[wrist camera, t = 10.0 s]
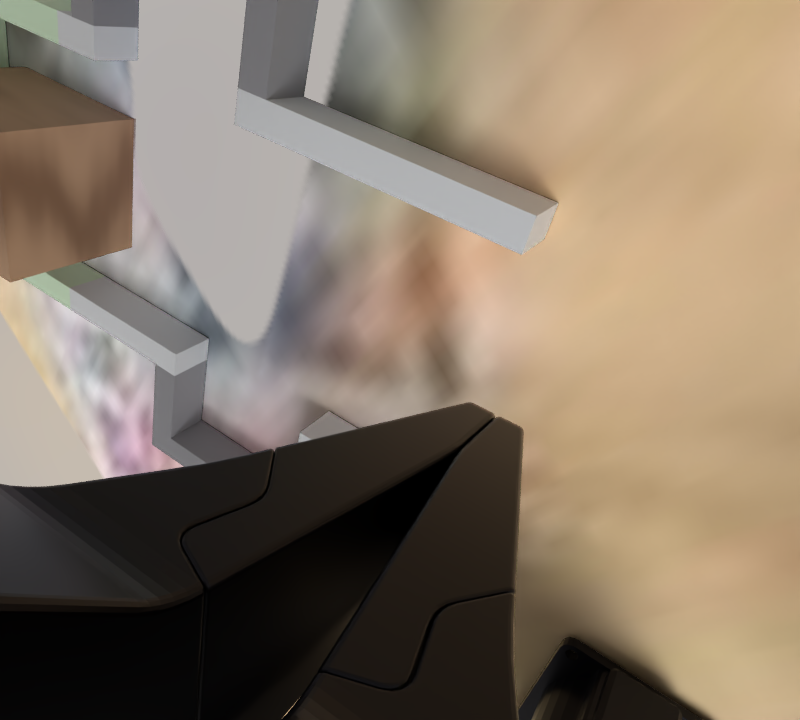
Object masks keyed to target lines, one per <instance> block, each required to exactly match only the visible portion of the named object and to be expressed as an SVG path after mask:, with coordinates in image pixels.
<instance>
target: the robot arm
mask: <svg viewBox="0 0 800 720" xmlns="http://www.w3.org/2000/svg"><path fill="white" fill-rule="evenodd" d="M523 436H524V432H523V429H522V428H521V427H520V426H518V425H516V424H514V423H512V422H510V421H508V420H506V419H504V418H502V417H496V418H495V416H494V414H493V413H492V412H490V411H488V410H486V409H484V408H482V407H480V406H478V405H476V404H474V403H464V404H459V405H455V406H451V407H447V408H442V409H438V410H434V411H430V412H426V413H421V414H417V415H413V416H409V417H405V418H400V419H396V420H392V421H388V422H383V423H379V424H375V425H371V426H367V427H362V428H358V429H354V430H350V431H345V432H341V433H337V434H333V435H329V436H324V437H320V438H316V439H312V440H308V441H303V442H299V443H295V444H291V445H286V446H282V447H278V448H276V449H275V452H274V451H273V450H272V449H269V450H265V451H260V452H256V453H252V454H248V455H243V456H238V457H234V458H229V459H224V460H219V461H215V462H210V463H204V464H198V465H192V466H186V467H180V468H174V469H168V470H161V471H154V472H148V473H141V474H134V475H127V476H120V477H113V478H106V479H99V480H93V481H86V482H79V483H72V484H65V485H56V486H47V487H22V486H9V485H3V484H0V720H702V719H701V718H699V717H697V716H696V715H694V714H693V713H691V712H690V711H688V710H687V709H685V708H683V707H682V706H680V705H679V704H677V703H676V702H674V701H673V700H671V699H670V698H668V697H666V696H665V695H663V694H662V693H660V692H659V691H657V690H656V689H654V688H652V687H651V686H649V685H648V684H646V683H645V682H643V681H642V680H640V679H638V678H637V677H635V676H634V675H632V674H631V673H629V672H628V671H626V670H624V669H623V668H621V667H620V666H618V665H617V664H615V663H614V662H612V661H611V660H609V659H607V658H606V657H604V656H603V655H601V654H600V653H598V652H597V651H595V650H593V649H592V648H590V647H589V646H587V645H586V644H584V643H583V642H581V641H579V640H577V639H575V638H571V637H569V638H565V639H564V640H563V641H562V643H561V644H560V646H559V647H558V649H557V650H556V652H555V653H554V655H553V656H552V658H551V659H550V661H549V662H548V664H547V665H546V667H545V668H544V670H543V671H542V673H541V674H540V676H539V677H538V679H537V681H536V682H535V684H534V685H533V687H532V688H531V690H530V691H529V693H528V694H527V696H526V697H525V699H524V700H523V702H522V703H521V705H520V706H519V708H518V707H517V695H516V680H515V666H514V618H515V596H514V595H515V591H516V572H517V552H518V533H519V513H520V494H521V474H522V455H523ZM571 650H572V651H574V652H572V651H571ZM300 696H301V697H300ZM297 700H298V701H297ZM296 701H297V702H296ZM295 702H296V703H295ZM294 703H295V704H294ZM293 705H294V706H293ZM292 706H293V707H292ZM291 707H292V708H291ZM290 708H291V710H290V711H289V712H288V710H289V709H290ZM287 712H288V713H287ZM286 713H287V714H286ZM285 714H286V715H285ZM284 715H285V716H284ZM283 716H284V717H283Z"/></svg>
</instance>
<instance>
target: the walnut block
mask: <svg viewBox="0 0 800 720" xmlns="http://www.w3.org/2000/svg"><path fill="white" fill-rule="evenodd" d="M135 132H136V119H135V118H131V117H128V116H126V115H124V114H122V113H120V112H118V111H116V110H114V109H112V108H110V107H108V106H106V105H104V104H102V103H99V102H97V101H95V100H93V99H91V98H89V97H87V96H85V95H83V94H81V93H79V92H77V91H75V90H73V89H71V88H68V87H66V86H64V85H62V84H60V83H58V82H56V81H54V80H52V79H50V78H48V77H46V76H44V75H42V74H40V73H37V72H35V71H33V70H31V69H29V68H27V67H0V276H1V277H3V278H4V279H6V280H7V281H9V282H13V281H17V280H20V279H24V278H27V277H31V276H34V275H38V274H41V273H44V272H48V271H51V270H55V269H58V268H62V267H65V266H69V265H72V264H76V263H79V262H83V261H86V260H89V259H93V258H96V257H100V256H103V255H107V254H110V253H114V252H117V251H121V250H124V249H128V248H131V247H132V200H133V138H134V140H135Z"/></svg>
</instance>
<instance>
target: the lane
mask: <svg viewBox="0 0 800 720" xmlns="http://www.w3.org/2000/svg"><path fill="white" fill-rule="evenodd" d="M57 18H58V40H59V45H60V46H63V47H65V48H67V49H69V50H72V51H74V52H76V53H78V54H80V55H83V56H85V57H87V58H89V59H91V60H94V61H119V60H138V28H133V27H106V26H92V25H90V24H88V23H85V22H83V21H81V20H78V19H76V18H74V17H72V16H71V11H59V10H57ZM234 124H235V125H237V126H239V127H241V128H244V129H246V130H248V131H250V132H252V133H255V134H257V135H259V136H261V137H263V138H266V139H268V140H270V141H272V142H274V143H277V144H279V145H281V146H283V147H285V148H288V149H290V150H292V151H294V152H296V153H298V154H301V155H303V156H305V157H307V158H310V159H312V160H314V161H316V162H318V163H321V164H323V165H325V166H327V167H329V168H332V169H334V170H336V171H338V172H340V173H343V174H345V175H347V176H349V177H351V178H354V179H356V180H358V181H360V182H362V183H365V184H367V185H369V186H371V187H373V188H376V189H378V190H380V191H382V192H384V193H387V194H389V195H391V196H393V197H395V198H398V199H400V200H402V201H404V202H406V203H409V204H411V205H413V206H415V207H417V208H420V209H422V210H424V211H426V212H429V213H431V214H433V215H435V216H437V217H440V218H442V219H444V220H446V221H448V222H451V223H453V224H455V225H457V226H459V227H462V228H464V229H466V230H468V231H470V232H473V233H475V234H477V235H479V236H481V237H484V238H486V239H488V240H490V241H492V242H495V243H497V244H499V245H501V246H503V247H506V248H508V249H510V250H512V251H514V252H517V253H519V254H521V255H522V254H524V253H525V252H527V251H528V250H530V249H531V248H532V247H534V246H535V245H537V244H538V243H539V242H541V241H542V240H544V239H545V236H546V234H547V231H548V229H549V226H550V224H551V221H552V219H553V216H554V213H555V211H556V208H557V206H558V202H555V201H553V200H550V199H548V198H546V197H543V196H541V195H538V194H536V193H534V192H531V191H529V190H526V189H524V188H522V187H519V186H517V185H514V184H512V183H510V182H507V181H505V180H502V179H500V178H498V177H495V176H493V175H490V174H488V173H486V172H483V171H481V170H478V169H476V168H474V167H471V166H469V165H466V164H464V163H462V162H459V161H457V160H454V159H452V158H450V157H447V156H445V155H442V154H440V153H438V152H435V151H433V150H430V149H428V148H426V147H423V146H421V145H418V144H416V143H414V142H411V141H409V140H406V139H404V138H402V137H399V136H397V135H394V134H392V133H390V132H387V131H385V130H382V129H380V128H378V127H375V126H373V125H371V124H368V123H366V122H363V121H361V120H359V119H356V118H354V117H351V116H349V115H347V114H344V113H342V112H339V111H337V110H335V109H332V108H330V107H327V106H325V105H323V104H320V103H318V102H315V101H313V100H311V99H308V98H306V97H294V98H282V99H271V100H265V99H262V98H260V97H258V96H255V95H253V94H251V93H248V92H246V91H244V90H242V89H239V88H238V93H237V103H236V113H235V123H234ZM70 309H71V310H72V311H74V312H75V313H77V314H79V315H80V316H82V317H83V318H85V319H86V320H88V321H89V322H91V323H93V324H94V325H96V326H97V327H99V328H100V329H102V330H103V331H105V332H107V333H108V334H110V335H111V336H113V337H114V338H116V339H117V340H119V341H121V342H122V343H124V344H125V345H127V346H128V347H130V348H131V349H133V350H135V351H136V352H138V353H139V354H141V355H142V356H144V357H145V358H147V359H149V360H150V361H152V362H153V363H155V364H156V365H158V366H160V367H161V368H163V369H164V370H166V371H167V372H169V373H170V374H172V375H174V376H176V375H178V374H180V373H182V372H184V371H186V370H188V369H190V368H192V367H193V366H195V365H197V364H199V363H201V362H203V361H205V360H207V354H208V344H209V339H208V338H207V337H205V336H203V335H202V334H200V333H198V332H197V331H195V330H194V329H192V328H190V327H189V326H187V325H185V324H184V323H182V322H180V321H179V320H177V319H175V318H174V317H172V316H170V315H169V314H167V313H165V312H164V311H162V310H160V309H159V308H157V307H155V306H154V305H152V304H150V303H149V302H147V301H145V300H144V299H142V298H140V297H139V296H137V295H135V294H134V293H132V292H130V291H129V290H127V289H126V288H124V287H122V286H121V285H119V284H117V283H116V282H114V281H112V280H111V279H109V278H107V277H106V276H105V277H102V278H99V279H96V280H93V281H90V282H87V283H83V284H80V285H77V286H74V287H71V288H70ZM354 429H358V428H356V427H354V426H353V425H351V424H349V423H348V422H346V421H344V420H343V419H341V418H339V417H338V416H336V415H335V414H333V413H331V412H330V411H328V412H327V413H325V414H324V415H323V416H321V417H320V418H319V419H317V420H316V421H315V422H313V423H312V424H311V425H309V426H308V427H307V428H305V429H304V430H303V431H301V432H300V435H299V440H298V443H299V442H303V441H308V440H312V439H316V438H320V437H324V436H329V435H333V434H337V433H341V432H345V431H350V430H354Z"/></svg>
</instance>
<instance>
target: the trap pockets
mask: <svg viewBox="0 0 800 720" xmlns="http://www.w3.org/2000/svg"><path fill="white" fill-rule="evenodd" d="M317 7H318V0H247V2H246V12H245V22H244V33H243V44H242V53H241V63H240V73H239V83H238V88H239V89H242V90H244V91H246V92H248V93H251V94H253V95H255V96H258V97H260V98H262V99H265V100H271V99H282V98H294V97H304V91H305V85H306V78H307V72H308V65H309V59H310V52H311V45H312V39H313V33H314V26H315V20H316V13H317ZM138 12H139V0H71V16H72V17H74V18H76V19H78V20H81V21H83V22H85V23H88V24H90V25H92V26H106V27H133V28H138V17H139V13H138ZM206 365H207V360H205V361H203V362H201V363H199V364H197V365H195V366H193V367H192V368H190V369H188V370H186V371H184V372H182V373H180V374H178V375H176V376H174V375H172V374H170V373H169V372H167V371H166V370H164V369H163V368H161V367H160V366H158V365H156V366H155V390H154V414H153V437H152V445H154V446H155V447H157V448H158V449H160V450H161V451H162V452H164V453H165V454H167V455H168V456H170V457H171V458H172V459H174V460H175V461H177V462H178V463H180V464H181V465H182V466H184V467H186V466H192V465H198V464H204V463H210V462H215V461H219V460H224V459H229V458H234V457H238V456H243V455H248V454H252V453H251V452H249V451H248V450H246V449H245V448H243V447H241V446H240V445H238V444H237V443H235V442H234V441H232V440H231V439H229V438H228V437H226V436H225V435H223V434H222V433H220V432H219V431H217V430H216V429H214V428H213V427H211V426H210V425H208V424H207V423H205V422H204V421H202V420H201V417H202V407H203V396H204V386H205V375H206Z"/></svg>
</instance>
